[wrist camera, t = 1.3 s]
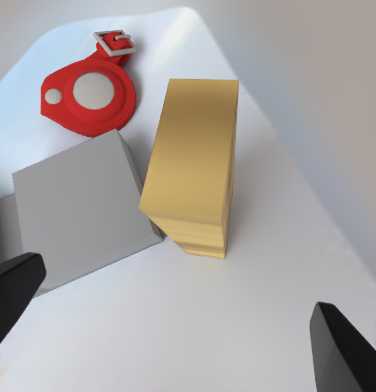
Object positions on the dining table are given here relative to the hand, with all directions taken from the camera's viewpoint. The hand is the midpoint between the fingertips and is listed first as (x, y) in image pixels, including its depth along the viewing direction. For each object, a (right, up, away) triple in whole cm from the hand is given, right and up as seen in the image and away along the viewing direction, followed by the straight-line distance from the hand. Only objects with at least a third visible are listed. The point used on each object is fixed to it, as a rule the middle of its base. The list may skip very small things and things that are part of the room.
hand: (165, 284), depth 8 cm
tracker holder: (-8, +14, +20) cm, 25 cm away
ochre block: (+3, +1, +13) cm, 13 cm away
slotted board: (-14, -1, +15) cm, 20 cm away
